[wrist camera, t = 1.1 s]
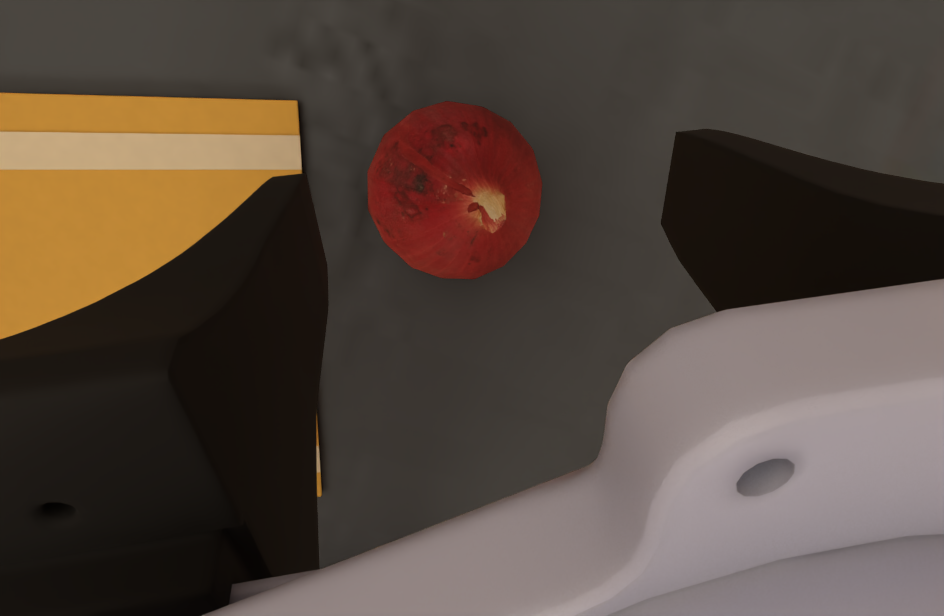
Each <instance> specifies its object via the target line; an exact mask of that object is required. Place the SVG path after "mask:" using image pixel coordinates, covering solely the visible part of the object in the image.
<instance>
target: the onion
mask: <svg viewBox="0 0 944 616" xmlns="http://www.w3.org/2000/svg"><path fill="white" fill-rule="evenodd" d="M541 191H542V181H541V177H540V173H539V169H538V166H537V162H536V158H535V155H534V151H533V149H532V147H531V146H530V145H529V144H528V143H527V141H526V140H525V139H524V138H523V136H522V135H521V134H520V133H519V131H518V130H517V129H516V128H515V127H514V125H513V124H512V123H511V122H510V121H508V120H506V119H504V118H502V117H500V116H499V115H497V114H495V113H493V112H491V111H489V110H488V109H486V108H484V107H480V106H476V105H469V104H463V103H456V102H450V101H445V102H442V103H438V104H435V105H432V106H428V107H425V108H421V109H418V110H414V111H412V112H411V113H410V114H409V115H408V116H406V117H405V118H404V119H403V120H402V121H400V122H399V123H398V124H397V125H396V126H394V127H393V128H392V129H391V130H390V131H388V132H387V133H386V134H385V135H384V136H383V138H382V140H381V143H380V145H379V147H378V149H377V152H376V154H375V156H374V158H373V161H372V163H371V165H370V167H369V170H368V210H369V212H370V214H371V216H372V219H373V221H374V223H375V225H376V227H377V229H378V231H379V233H380V235H381V237H382V239H383V241H384V242H385V243H386V244H387V245H388V246H389V247H390V248H391V249H392V250H393V251H394V252H395V253H397V254H398V255H399V256H400V257H401V258H402V259H403V260H404V261H405V262H406V263H407V264H409V265H410V266H411V267H412V268H415V269H418V270H420V271H423V272H426V273H429V274H432V275H434V276H437V277H440V278H453V279H476V278H478V277H480V276H482V275H485V274H487V273H489V272H491V271H493V270H496V269H498V268H500V267H502V266H504V265H505V264H506V263H507V262H508V261H509V260H510V259H511V258H512V257H513V256H514V255H515V254H516V253H517V252H518V251H519V250H520V249H521V248H522V247H523V246H524V245H525V244H526V242H527V240H528V238H529V236H530V233H531V231H532V229H533V227H534V225H535V223H536V221H537V219H538V217H539V212H540V202H541Z"/></svg>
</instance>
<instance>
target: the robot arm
mask: <svg viewBox="0 0 944 616" xmlns="http://www.w3.org/2000/svg"><path fill="white" fill-rule="evenodd" d="M661 225H662V227H663V229H664V231H665V233H666V235H667V238H668V240H669V242H670V244H671V246H672V248H673V250H674V252H675V253H676V255H677V257H678V259H679V261H680V262H681V264H682V265H683V266H684V268H685V269H686V271H687V272H688V273H689V275H690V276H691V278H692V279H693V280H694V282H695V283H696V285H697V286H698V287H699V289H700V290H701V291H702V293H703V294H704V295H705V297H706V298H707V299H708V301H709V302H710V303H711V305H712V306H713V307H714V309H715V310H716V311H717V312H716V313H713V314H710V315H707V316H705V317H702V318H699V319H696V320H693V321H690V322H687V323H684V324H681V325H678V326H675V327H672V328H670V329H669V330H667V331H666V332H665V333H664V334H662V335H661V336H660V337H659V338H658V339H656V340H655V341H654V342H653V343H651V344H650V345H649V346H648V347H646V348H645V349H644V350H643V351H641V352H640V353H639V354H638V355H637V356H635V357H634V358H633V359H632V360H631V361H630V362H629V363H628V364H627V365H626V367H625V369H624V371H623V373H622V375H621V378H620V380H619V382H618V384H617V386H616V388H615V390H614V392H613V394H612V396H611V398H610V400H609V402H608V406H607V414H606V421H605V429H604V436H603V443H602V446H601V449H600V452H599V455H598V457H597V459H596V460H595V461H594V462H592V463H591V464H590V465H588V466H585V467H583V468H580V469H578V470H575V471H572V472H570V473H567V474H565V475H562V476H560V477H557V478H554V479H552V480H549V481H547V482H544V483H542V484H539V485H536V486H534V487H531V488H529V489H526V490H524V491H521V492H518V493H516V494H513V495H511V496H508V497H506V498H503V499H500V500H498V501H495V502H493V503H490V504H487V505H485V506H482V507H480V508H477V509H475V510H472V511H469V512H467V513H464V514H462V515H459V516H457V517H454V518H451V519H449V520H446V521H444V522H441V523H439V524H436V525H433V526H431V527H428V528H426V529H423V530H420V531H418V532H415V533H413V534H410V535H408V536H405V537H402V538H400V539H397V540H395V541H392V542H390V543H387V544H384V545H382V546H379V547H377V548H374V549H372V550H369V551H366V552H364V553H361V554H359V555H356V556H353V557H351V558H348V559H346V560H343V561H341V562H338V563H335V564H333V565H330V566H328V567H325V568H323V569H319V544H318V512H317V401H318V390H319V382H320V373H321V365H322V357H323V349H324V341H325V332H326V324H327V315H328V273H327V262H326V258H325V253H324V249H323V245H322V240H321V236H320V232H319V228H318V223H317V219H316V215H315V210H314V206H313V202H312V198H311V193H310V189H309V185H308V180H307V176H306V173H302V174H293V175H284V176H275V177H271V178H270V179H268V180H267V181H266V182H265V183H264V184H262V185H261V186H260V187H259V188H258V189H257V190H256V191H255V192H254V193H253V194H252V195H250V196H249V197H248V198H247V199H246V200H245V201H244V202H243V203H242V204H241V205H240V206H239V207H237V208H236V209H235V210H234V211H233V212H232V213H231V214H230V215H229V216H228V217H227V218H225V219H224V220H223V221H222V222H221V223H219V224H218V225H217V226H216V227H215V228H213V229H212V230H211V231H210V232H208V233H207V234H206V235H205V236H203V237H202V238H201V239H200V240H198V241H197V242H196V243H195V244H193V245H192V246H191V247H189V248H188V249H187V250H185V251H184V252H183V253H181V254H180V255H178V256H177V257H175V258H174V259H172V260H171V261H169V262H168V263H166V264H164V265H163V266H161V267H160V268H158V269H156V270H155V271H153V272H152V273H150V274H148V275H147V276H145V277H143V278H141V279H139V280H138V281H136V282H134V283H132V284H130V285H128V286H126V287H124V288H122V289H120V290H118V291H116V292H114V293H112V294H110V295H108V296H106V297H105V298H103V299H101V300H99V301H97V302H95V303H92V304H90V305H88V306H86V307H83V308H81V309H79V310H76V311H74V312H72V313H70V314H67V315H65V316H62V317H60V318H57V319H55V320H52V321H50V322H47V323H45V324H42V325H40V326H37V327H34V328H32V329H29V330H26V331H23V332H21V333H18V334H15V335H12V336H9V337H6V338H3V339H0V616H944V184H941V183H934V182H927V181H921V180H915V179H910V178H904V177H899V176H893V175H888V174H882V173H878V172H873V171H868V170H864V169H859V168H855V167H851V166H848V165H844V164H840V163H836V162H832V161H828V160H824V159H820V158H817V157H813V156H810V155H806V154H803V153H799V152H796V151H792V150H789V149H786V148H782V147H779V146H776V145H772V144H769V143H765V142H762V141H759V140H755V139H752V138H748V137H745V136H741V135H737V134H733V133H729V132H724V131H719V130H712V129H700V130H691V131H682V132H676V136H675V142H674V148H673V154H672V160H671V166H670V171H669V177H668V183H667V189H666V195H665V201H664V207H663V213H662V219H661Z"/></svg>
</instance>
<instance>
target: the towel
mask: <svg viewBox="0 0 944 616" xmlns="http://www.w3.org/2000/svg"><path fill="white" fill-rule="evenodd" d="M293 174H302V161H301V145H300V128H299V112H298V102H297V101H296V100H259V99H221V98H183V97H145V96H107V95H69V94H31V93H0V339H3V338H6V337H9V336H12V335H15V334H18V333H21V332H23V331H26V330H29V329H32V328H34V327H37V326H40V325H42V324H45V323H47V322H50V321H52V320H55V319H57V318H60V317H62V316H65V315H67V314H70V313H72V312H74V311H76V310H79V309H81V308H83V307H86V306H88V305H90V304H92V303H95V302H97V301H99V300H101V299H103V298H105V297H106V296H108V295H110V294H112V293H114V292H116V291H118V290H120V289H122V288H124V287H126V286H128V285H130V284H132V283H134V282H136V281H138V280H139V279H141V278H143V277H145V276H147V275H148V274H150V273H152V272H153V271H155V270H156V269H158V268H160V267H161V266H163V265H164V264H166V263H168V262H169V261H171V260H172V259H174V258H175V257H177V256H178V255H180V254H181V253H183V252H184V251H185V250H187V249H188V248H189V247H191V246H192V245H193V244H195V243H196V242H197V241H198V240H200V239H201V238H202V237H203V236H205V235H206V234H207V233H208V232H210V231H211V230H212V229H213V228H215V227H216V226H217V225H218V224H219V223H221V222H222V221H223V220H224V219H225V218H227V217H228V216H229V215H230V214H231V213H232V212H233V211H234V210H235V209H236V208H237V207H239V206H240V205H241V204H242V203H243V202H244V201H245V200H246V199H247V198H248V197H249V196H250V195H252V194H253V193H254V192H255V191H256V190H257V189H258V188H259V187H260V186H261V185H262V184H264V183H265V182H266V181H267V180H268V179H270V178H271V177H275V176H284V175H293ZM320 496H322V487H321V471H320V454H319V438H318V422H317V497H320Z"/></svg>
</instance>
